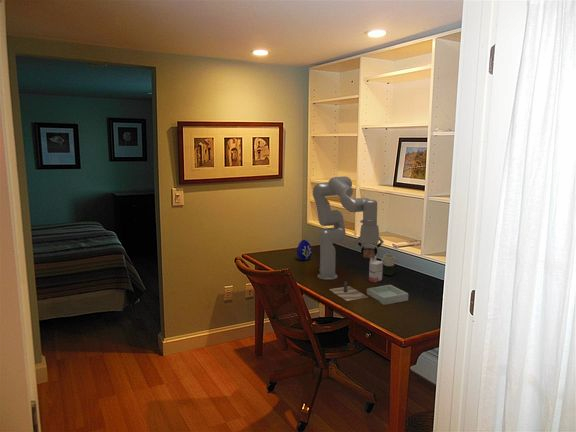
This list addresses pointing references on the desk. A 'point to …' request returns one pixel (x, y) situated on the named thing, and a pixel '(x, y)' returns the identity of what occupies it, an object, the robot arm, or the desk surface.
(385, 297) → the tray
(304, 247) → the ornament
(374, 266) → the ink cartridge box
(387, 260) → the character mug
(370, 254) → the tabbed ring
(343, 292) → the stake board
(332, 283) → the desk surface
